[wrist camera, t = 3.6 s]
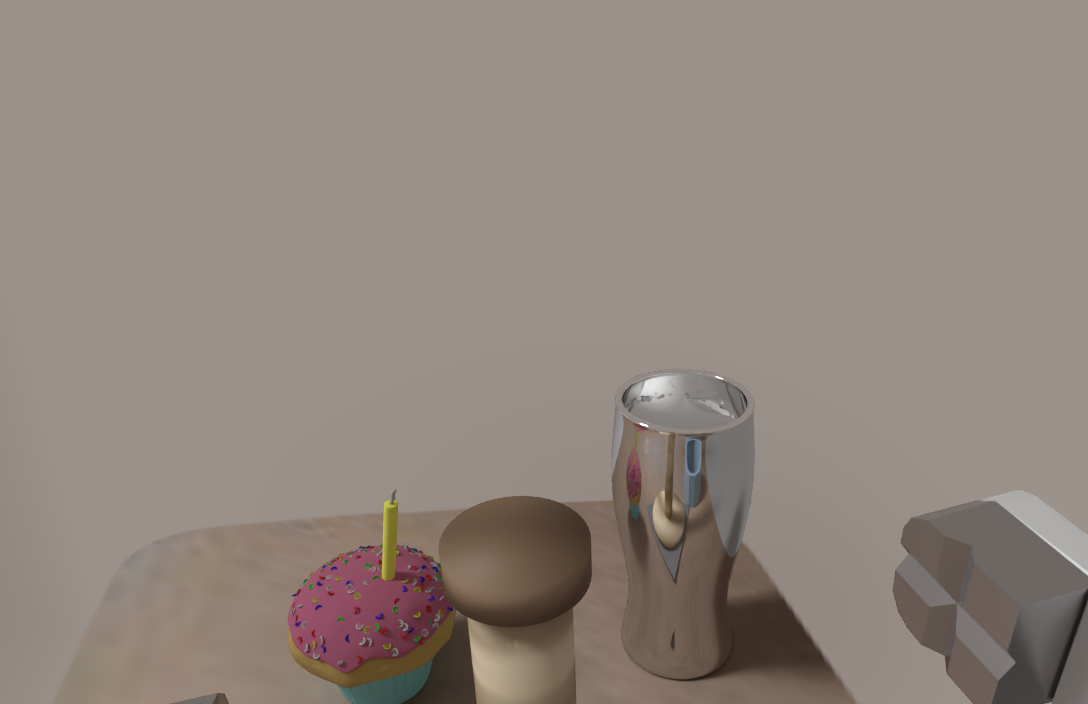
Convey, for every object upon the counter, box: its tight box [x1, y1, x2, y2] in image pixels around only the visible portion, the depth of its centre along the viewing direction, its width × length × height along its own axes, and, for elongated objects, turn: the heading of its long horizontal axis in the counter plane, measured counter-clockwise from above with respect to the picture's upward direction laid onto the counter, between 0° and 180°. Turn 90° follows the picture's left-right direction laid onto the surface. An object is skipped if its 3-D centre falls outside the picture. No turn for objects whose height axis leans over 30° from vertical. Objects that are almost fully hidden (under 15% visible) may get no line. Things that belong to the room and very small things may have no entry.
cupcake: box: [288, 489, 456, 704], centre depth 39 cm, size 9×8×12 cm
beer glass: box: [611, 369, 755, 679], centre depth 40 cm, size 7×7×15 cm
